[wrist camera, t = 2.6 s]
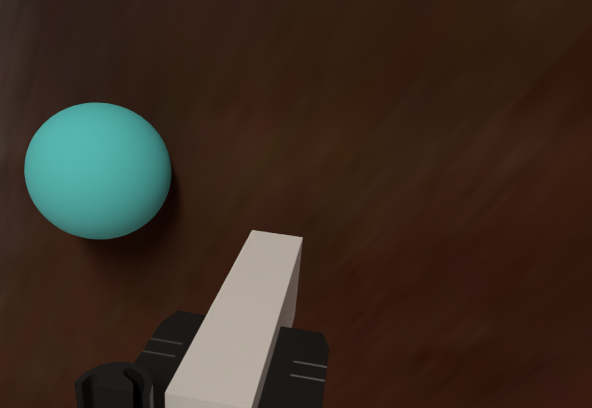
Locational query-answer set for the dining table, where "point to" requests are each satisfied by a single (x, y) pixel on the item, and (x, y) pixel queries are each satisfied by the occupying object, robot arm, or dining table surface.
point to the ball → (98, 171)
